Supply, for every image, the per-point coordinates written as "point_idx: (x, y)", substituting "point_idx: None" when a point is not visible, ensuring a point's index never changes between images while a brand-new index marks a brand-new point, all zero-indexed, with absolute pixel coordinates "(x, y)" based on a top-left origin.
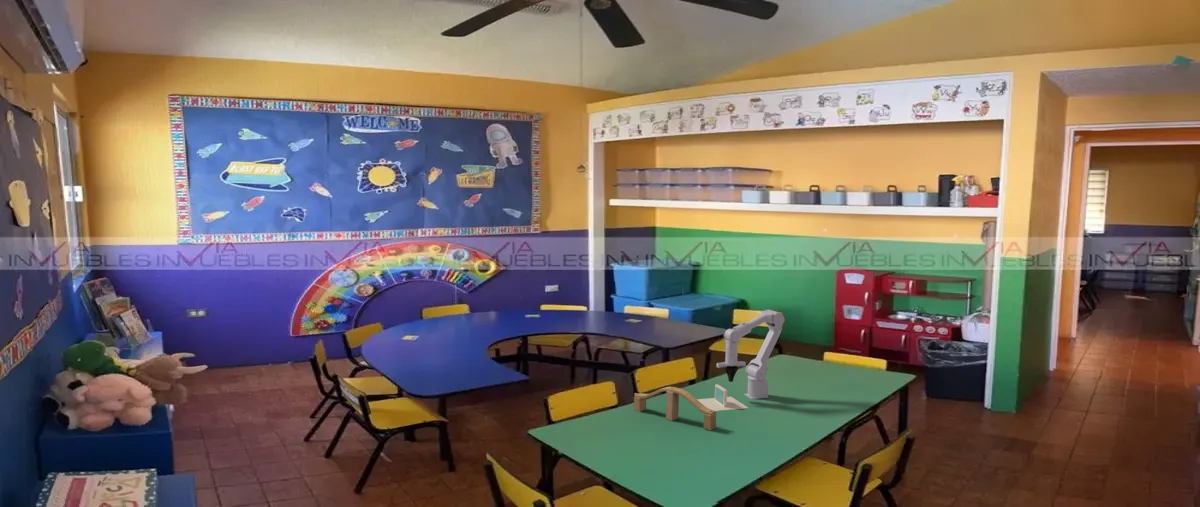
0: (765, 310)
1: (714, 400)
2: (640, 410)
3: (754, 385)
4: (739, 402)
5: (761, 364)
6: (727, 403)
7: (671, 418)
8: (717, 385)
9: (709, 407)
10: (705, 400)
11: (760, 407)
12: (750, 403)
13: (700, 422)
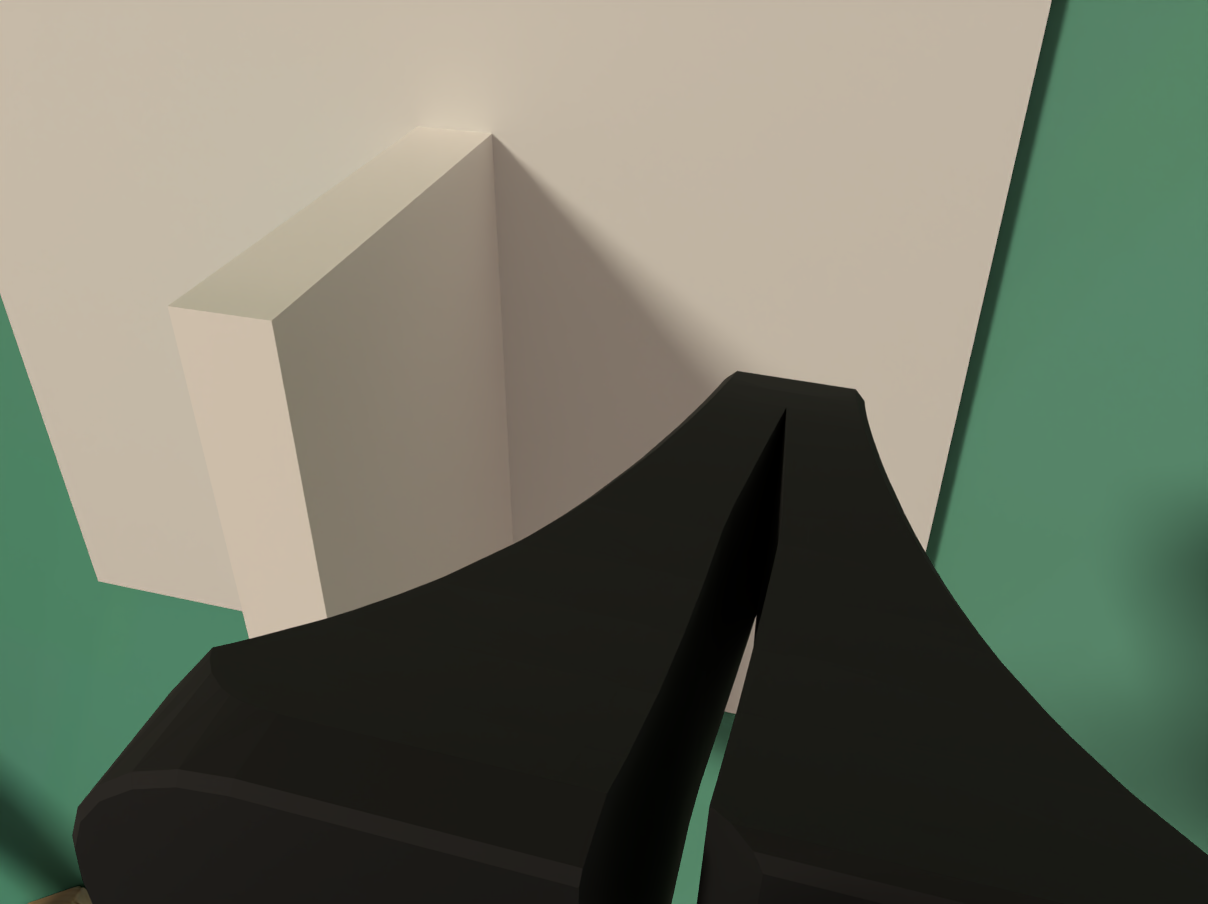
0: None
1: (417, 110)
2: None
3: None
4: (931, 452)
5: None
6: (622, 404)
7: None
8: (222, 419)
9: (196, 458)
10: (205, 37)
11: (1166, 787)
12: (1173, 552)
13: (5, 784)
